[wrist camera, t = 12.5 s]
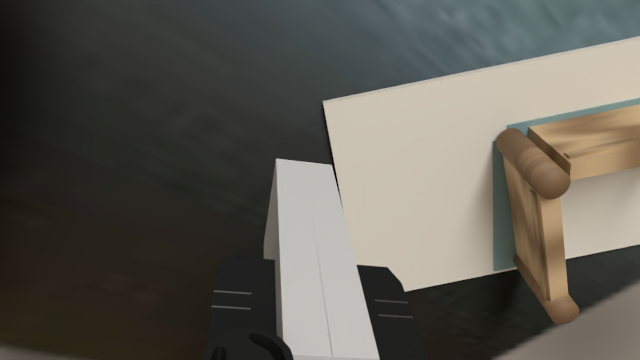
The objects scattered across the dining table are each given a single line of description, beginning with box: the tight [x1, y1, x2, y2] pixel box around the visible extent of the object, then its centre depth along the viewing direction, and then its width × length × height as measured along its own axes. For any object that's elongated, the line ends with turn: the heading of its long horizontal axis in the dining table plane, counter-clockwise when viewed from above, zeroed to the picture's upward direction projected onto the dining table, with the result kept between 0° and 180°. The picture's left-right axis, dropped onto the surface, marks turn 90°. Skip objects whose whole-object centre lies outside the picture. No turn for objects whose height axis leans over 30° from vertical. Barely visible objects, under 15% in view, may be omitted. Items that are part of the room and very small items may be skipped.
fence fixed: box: [528, 104, 640, 181], centre depth 37 cm, size 12×2×7 cm, turn 100°
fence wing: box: [496, 128, 579, 324], centre depth 40 cm, size 15×2×7 cm, turn 17°
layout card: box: [323, 36, 640, 291], centre depth 43 cm, size 28×20×1 cm
